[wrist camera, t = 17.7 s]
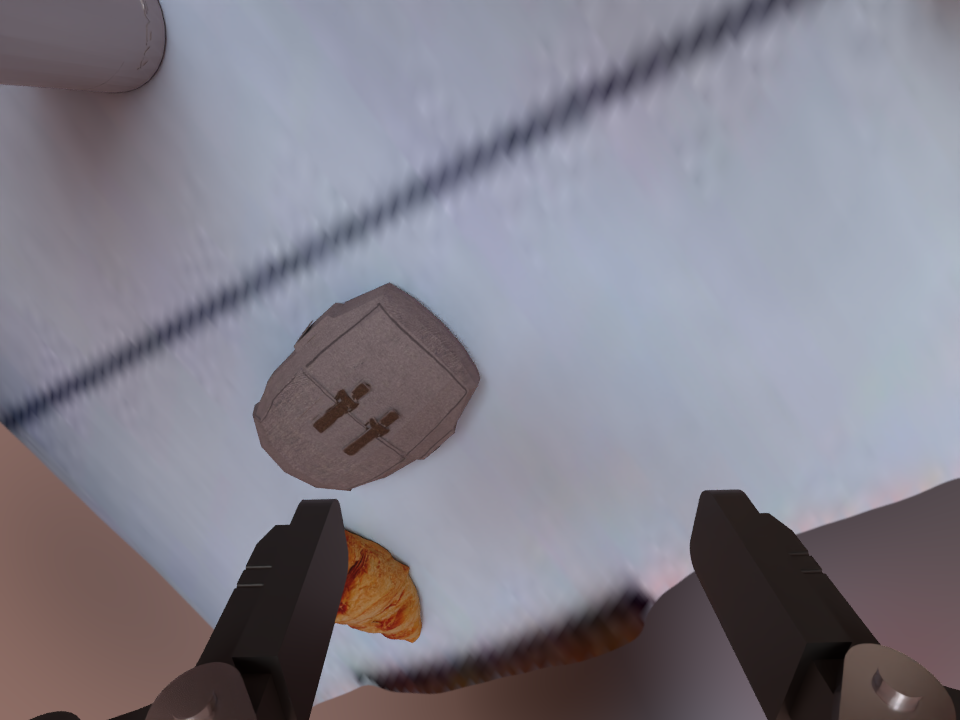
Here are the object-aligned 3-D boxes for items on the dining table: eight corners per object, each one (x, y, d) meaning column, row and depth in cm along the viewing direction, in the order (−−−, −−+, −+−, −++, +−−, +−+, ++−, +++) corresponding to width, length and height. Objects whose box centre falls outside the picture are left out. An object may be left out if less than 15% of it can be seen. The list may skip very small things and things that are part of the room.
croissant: (440, 589, 64) (464, 630, 57) (377, 650, 61) (395, 701, 54) (330, 479, 56) (342, 510, 48) (253, 545, 53) (254, 588, 46)
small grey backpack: (381, 250, 42) (235, 393, 47) (360, 279, 34) (189, 445, 40) (501, 371, 47) (355, 487, 52) (505, 419, 39) (335, 549, 45)
